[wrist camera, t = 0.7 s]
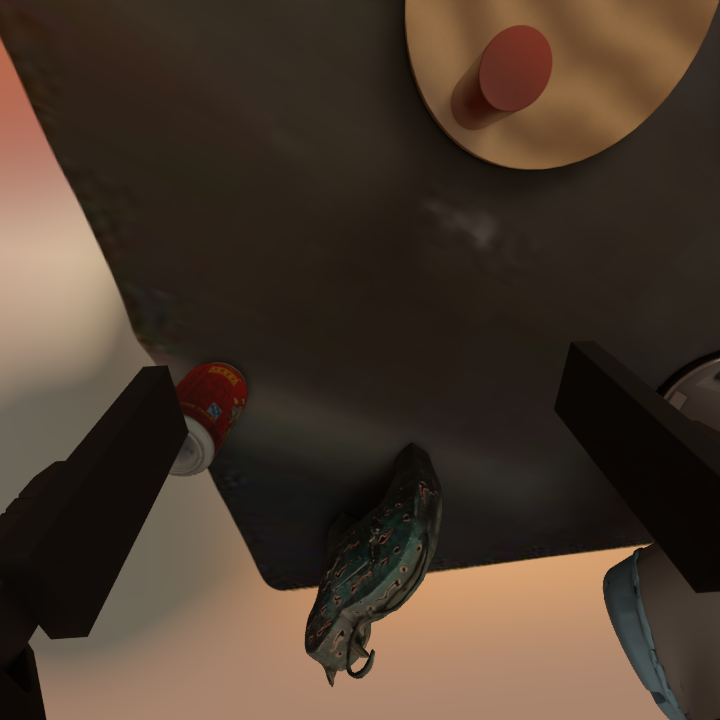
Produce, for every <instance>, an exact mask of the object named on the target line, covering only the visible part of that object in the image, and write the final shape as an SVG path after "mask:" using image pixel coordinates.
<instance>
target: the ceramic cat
mask: <svg viewBox="0 0 720 720" xmlns="http://www.w3.org/2000/svg"><path fill="white" fill-rule="evenodd" d="M442 516H443V499H442V491H441V485H440V483H439V480H438V478H437V476H436V473H435V471H434V468H433V466H432V463H431V461H430V458H429V455H428V453H427V452H425V451H424V450H422V449H421V448H418V447H417V446H416V445H415V444H413V443H411V444H409V445H408V446H407V447H405V448H404V449H403V450H402V451H401V453H400V454H399V456H398V457H397V458H396V468H395V472H394V477H393V481H392V483H391V485H390V488H389V490H388V492H387V494H386V495H385V497H384V499H383V501H382V502H381V503H380V505H379V506H378V507H376V508H375V509H374V510H372V511H370V512H369V513H368V514H367V515H366V516H365V517H364V518H363V519H361V520H360V521H357V520H356V519H355V518H353V517H351V516H349V515H347V514H345V513H344V512H342V513H341V514H340V515H339V517H338V518H337V520H336V521H334V522H333V523H332V524H331V525H330V529H329V533H328V537H327V543H326V550H325V555H324V558H323V562H322V566H321V577H320V583H319V590H318V594H317V598H316V601H315V603H314V606H313V608H312V610H311V612H310V614H309V617H308V621H307V626H306V632H305V649H306V653H307V654H308V655H309V656H311V657H312V658H313V659H315V660H316V661H318V662H319V663H320V664H321V665H322V666H323V667H324V669H325V672H326V676H327V678H328V681H329V684H330V685H331V686H332V687H333V685H334V677H335V675H336V672H337V670H338V671H343V670H345V669H347V672H348V674H349V675H350V676H352V677H353V678H357V679H359V678H363V677H364V676H365V675H366V674H367V673H368V672H369V671H370V669H371V668H372V665H373V662H374V656H375V651H374V650H373V649H372V650H371V653H370V655H369V654H368V652H367V651H366V650H365V648H366V645H367V643H368V641H369V638H370V634H371V623H372V622H375V621H378V620H380V619H382V618H384V617H385V616H387V615H388V614H389V613H391V612H393V611H396V610H398V609H399V608H400V607H401V606H402V605H403V604H404V603H405V602H406V601H407V600H408V599H409V598H410V597H411V596H412V595H413V593H414V592H415V591H416V590H417V588H418V587H419V586H420V584H421V583H422V581H423V580H424V577H425V575H426V572H427V569H428V566H429V564H430V562H431V559H432V557H433V555H434V552H435V550H436V545H437V542H438V539H439V535H440V528H441V522H442ZM359 657H362V658H364V657H365V658H367V657H368V660H367V662H366V664H365V666H364V667H363V668H362V669H361V670H360V671H358V672H356V673H354V672H352V670H351V667H350V666H351V665H352V664H353V663H354V662H355V661H356V660H357V659H358V658H359Z"/></svg>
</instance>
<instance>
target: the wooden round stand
mask: <svg viewBox="0 0 720 720" xmlns="http://www.w3.org/2000/svg"><path fill="white" fill-rule="evenodd" d="M718 3H719V0H405V20H404V25H405V36H406V47H407V52H408V57H409V62H410V68H411V71H412V74H413V77H414V80H415V83H416V87H417V89H418V91H419V93H420V96H421V98H422V100H423V102H424V104H425V106H426V108H427V110H428V111H429V113H430V114H431V116H432V117H433V119H434V121H435V122H436V123H437V125H438V126H439V127H440V128H441V129H442V130H443V132H444V133H445V134H446V135H447V136H448V137H449V138H450V139H451V140H452V141H453V142H455V143H456V144H457V145H458V146H459V147H460V148H462V149H463V150H465V151H466V152H468V153H470V154H471V155H473V156H474V157H476V158H479V159H481V160H483V161H485V162H488V163H490V164H494V165H497V166H501V167H504V168H511V169H519V170H536V169H549V168H555V167H561V166H565V165H568V164H572V163H575V162H578V161H581V160H584V159H586V158H588V157H590V156H593V155H595V154H597V153H599V152H601V151H603V150H605V149H606V148H608V147H610V146H611V145H613V144H615V143H617V142H618V141H619V140H621V139H622V138H624V137H625V136H626V135H628V134H629V133H630V132H632V131H633V130H634V129H636V128H637V127H638V126H639V125H640V124H641V123H642V122H643V121H644V120H645V119H647V118H648V117H649V116H650V115H651V114H652V113H653V112H654V111H655V110H656V109H657V107H658V106H659V105H660V104H661V103H662V102H663V101H664V100H665V99H666V98H667V96H668V95H669V94H670V93H671V91H672V90H673V89H674V87H675V86H676V85H677V83H678V82H679V81H680V79H681V78H682V77H683V75H684V73H685V72H686V70H687V69H688V67H689V65H690V64H691V62H692V60H693V59H694V57H695V55H696V54H697V52H698V50H699V48H700V46H701V44H702V42H703V40H704V38H705V36H706V34H707V31H708V29H709V27H710V24H711V21H712V19H713V16H714V14H715V11H716V8H717V6H718Z"/></svg>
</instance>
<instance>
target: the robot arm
mask: <svg viewBox="0 0 720 720" xmlns="http://www.w3.org/2000/svg"><path fill="white" fill-rule="evenodd" d="M554 410H555V412H556V413H557V414H558V416H559V417H560V418H561V419H562V421H563V422H564V423H565V425H566V426H567V427H568V428H569V430H570V431H571V432H572V434H573V435H574V436H575V438H576V439H577V440H578V441H579V443H580V444H581V445H582V447H583V448H584V449H585V450H586V452H587V453H588V454H589V456H590V457H591V458H592V460H593V461H594V462H595V463H596V465H597V466H598V467H599V469H600V470H601V471H602V472H603V474H604V475H605V476H606V478H607V479H608V480H609V482H610V483H611V484H612V485H613V487H614V488H615V489H616V491H617V492H618V493H619V494H620V496H621V497H622V498H623V500H624V501H625V502H626V504H627V505H628V506H629V507H630V509H631V510H632V511H633V513H634V514H635V515H636V516H637V518H638V519H639V520H640V522H641V523H642V524H643V525H644V527H645V528H646V529H647V531H648V532H649V533H650V535H651V536H652V537H653V538H654V540H655V541H656V542H655V543H653V544H651V545H649V546H647V547H645V548H642V547H641V548H638V549H637V550H635V551H634V553H633V555H631V556H629V557H628V558H626V559H625V560H623V561H621V562H620V563H618V564H617V565H615V566H614V567H612V568H610V569H609V570H608V572H607V573H606V575H605V577H604V580H603V593H604V600H605V604H606V608H607V611H608V614H609V617H610V620H611V623H612V625H613V628H614V630H615V632H616V635H617V637H618V639H619V641H620V643H621V645H622V648H623V650H624V652H625V653H626V655H627V657H628V659H629V661H630V663H631V665H632V667H633V669H634V670H635V672H636V674H637V676H638V677H639V679H640V681H641V682H642V684H643V685H644V686H645V688H646V689H647V690H649V691H650V693H651V694H652V697H653V698H654V700H655V702H656V704H657V705H658V707H659V708H660V709H661V710H662V712H663V713H664V714H665V715H666V716H667V717H668V718H669V719H670V720H720V351H719V352H715V353H712V354H710V355H707V356H705V357H702V358H700V359H698V360H696V361H694V362H692V363H691V364H689V365H687V366H686V367H684V368H683V369H681V370H680V371H679V372H677V373H676V374H675V375H674V376H672V377H671V378H670V379H669V380H668V381H667V382H666V383H665V384H664V386H663V387H662V388H661V389H660V390H659V392H658V393H657V392H656V391H655V390H653V389H652V388H651V387H650V386H648V385H647V384H646V383H645V382H644V381H642V380H641V379H640V378H639V377H638V376H636V375H635V374H634V373H633V372H631V371H630V370H629V369H628V368H627V367H625V366H624V365H623V364H622V363H620V362H619V361H618V360H617V359H616V358H614V357H613V356H612V355H611V354H609V353H608V352H607V351H606V350H605V349H603V348H602V347H601V346H600V345H599V344H597V343H596V342H595V341H581V342H571V344H570V348H569V352H568V356H567V360H566V364H565V368H564V372H563V376H562V380H561V384H560V388H559V392H558V396H557V400H556V404H555V408H554ZM188 433H189V430H188V427H187V424H186V421H185V418H184V415H183V412H182V409H181V406H180V402H179V399H178V396H177V393H176V390H175V387H174V384H173V381H172V378H171V375H170V372H169V369H168V366H167V365H166V366H150V367H143V368H142V369H141V370H140V371H139V373H138V374H137V375H136V376H135V378H134V379H133V380H132V381H131V382H130V384H129V385H128V386H127V387H126V388H125V390H124V391H123V392H122V393H121V394H120V396H119V397H118V398H117V399H116V400H115V402H114V403H113V404H112V405H111V407H110V408H109V409H108V410H107V411H106V413H105V414H104V415H103V416H102V417H101V419H100V420H99V421H98V422H97V423H96V425H95V426H94V427H93V428H92V430H91V431H90V432H89V433H88V434H87V436H86V437H85V438H84V439H83V440H82V442H81V443H80V444H79V445H78V446H77V448H76V449H75V450H74V451H73V452H72V454H71V455H70V456H69V457H68V458H67V460H66V461H57V462H54V463H53V464H51V465H50V466H49V467H47V468H46V469H45V470H43V471H42V472H40V473H39V474H38V475H36V476H35V477H34V478H33V479H32V480H31V481H30V482H29V483H28V485H27V486H26V487H25V488H24V489H23V491H21V493H20V494H19V497H18V498H15V499H14V500H13V502H12V503H11V504H10V505H9V506H8V507H7V509H6V512H5V513H2V514H1V515H0V720H46V715H45V709H44V704H43V699H42V693H41V689H40V683H39V677H38V672H37V667H36V661H35V656H34V652H33V650H32V648H31V647H30V645H29V644H28V641H29V640H30V638H31V636H32V635H33V633H34V631H35V630H36V628H37V626H38V625H40V627H41V628H42V629H43V630H44V631H45V633H46V634H47V635H48V637H50V639H64V638H78V637H88V635H89V633H90V631H91V629H92V627H93V625H94V623H95V621H96V619H97V617H98V615H99V613H100V610H101V609H102V607H103V605H104V602H105V601H106V599H107V597H108V595H109V593H110V591H111V588H112V587H113V584H114V583H115V580H116V579H117V577H118V574H119V572H120V570H121V568H122V566H123V564H124V562H125V560H126V558H127V556H128V554H129V552H130V550H131V548H132V546H133V544H134V542H135V540H136V538H137V536H138V534H139V532H140V530H141V528H142V526H143V524H144V522H145V520H146V518H147V516H148V514H149V512H150V510H151V508H152V506H153V504H154V502H155V500H156V498H157V496H158V494H159V492H160V490H161V488H162V486H163V484H164V482H165V480H166V478H167V476H168V474H169V472H170V470H171V468H172V466H173V464H174V462H175V460H176V458H177V456H178V453H179V451H180V449H181V447H182V445H183V443H184V441H185V439H186V437H187V435H188Z"/></svg>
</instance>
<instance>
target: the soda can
mask: <svg viewBox="0 0 720 720" xmlns="http://www.w3.org/2000/svg"><path fill="white" fill-rule="evenodd" d="M175 390H176V393H177V396H178V399H179V402H180V406H181V409H182V412H183V415H184V418H185V421H186V424H187V427H188V430H189V433H188V435H187V437H186V439H185V441H184V443H183V445H182V447H181V449H180V451H179V453H178V456H177V458H176V460H175V462H174V464H173V466H172V468H171V470H170V472H169V474H170V475H174V476H191V475H195V474H198V473H200V472H202V471H204V470H205V469H206V468H208V466H209V465H210V464H211V463H212V462H213V460H214V459H215V457H216V455H217V453H218V452H219V450H220V448H221V447H222V445H223V443H224V442H225V440H226V438H227V436H228V435H229V433H230V431H231V430H232V428H233V426H234V424H235V423H236V421H237V419H238V418H239V416H240V414H241V413H242V411H243V409H244V408H245V405H246V402H247V397H248V394H247V388H246V382H245V379H244V377H243V376H242V374H241V373H240V372H239V371H238V370H237V369H236V368H234V367H233V366H231V365H229V364H225V363H219V362H215V363H208V364H203V365H200V366H198V367H196V368H194V369H193V370H192V371H190V372H189V373H188V374H187V375H186V376H185V378H184V379H182V380H181V382H180V383H179V384H178V385H177V386H176V387H175Z"/></svg>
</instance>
